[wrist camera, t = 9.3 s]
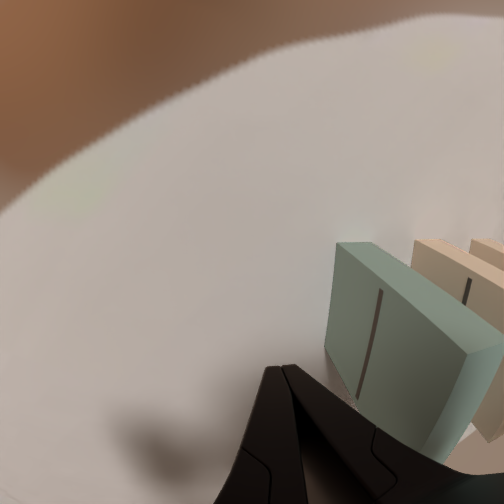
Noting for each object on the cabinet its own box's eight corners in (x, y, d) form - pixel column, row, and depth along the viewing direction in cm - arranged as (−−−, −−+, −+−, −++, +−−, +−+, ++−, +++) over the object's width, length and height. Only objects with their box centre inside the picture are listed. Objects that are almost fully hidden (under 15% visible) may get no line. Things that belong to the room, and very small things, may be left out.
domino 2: (440, 239, 13) (570, 310, 5) (421, 330, 15) (513, 427, 7) (414, 239, 13) (551, 320, 5) (396, 335, 14) (487, 443, 7)
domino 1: (323, 346, 14) (397, 485, 6) (336, 242, 13) (467, 354, 5) (355, 342, 14) (439, 469, 7) (371, 242, 13) (510, 339, 5)
